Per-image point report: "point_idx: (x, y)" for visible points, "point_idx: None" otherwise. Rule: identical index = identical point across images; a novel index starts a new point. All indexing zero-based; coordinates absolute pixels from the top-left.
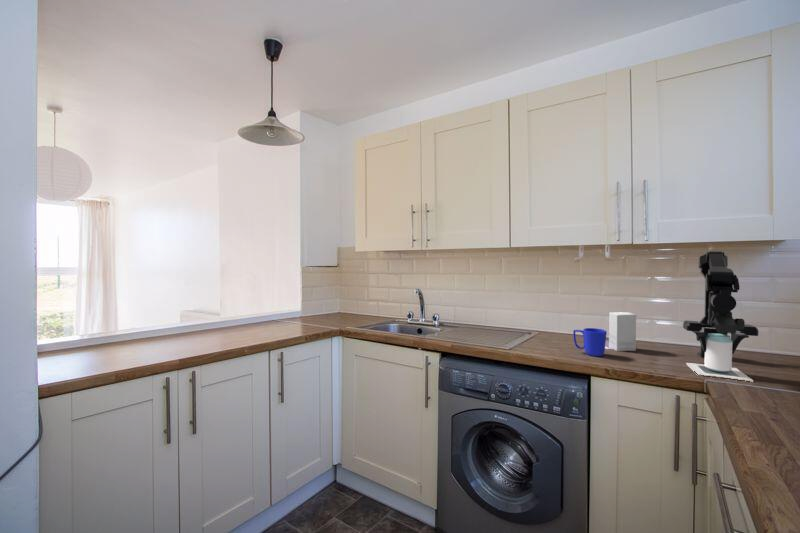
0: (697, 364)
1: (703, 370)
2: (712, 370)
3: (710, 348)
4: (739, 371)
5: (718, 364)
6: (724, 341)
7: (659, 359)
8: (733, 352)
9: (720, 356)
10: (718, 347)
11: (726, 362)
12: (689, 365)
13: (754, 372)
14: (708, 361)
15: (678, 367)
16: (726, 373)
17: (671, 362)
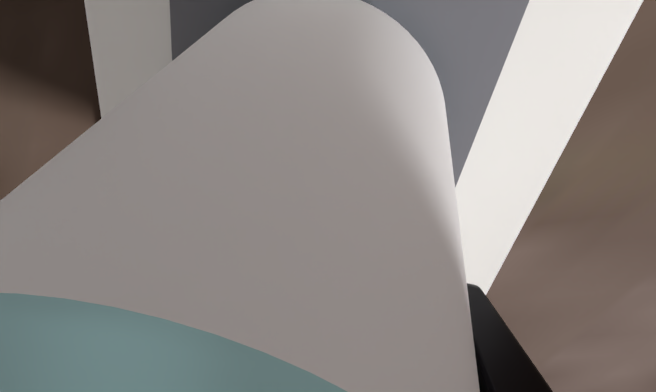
0: None
1: (488, 80)
2: None
3: (454, 261)
4: None
5: (360, 24)
6: (18, 355)
7: (630, 388)
8: None
9: (312, 71)
10: (315, 199)
11: (241, 23)
12: (514, 240)
13: (7, 173)
14: (444, 131)
15: (650, 205)
16: None
17: (583, 332)
